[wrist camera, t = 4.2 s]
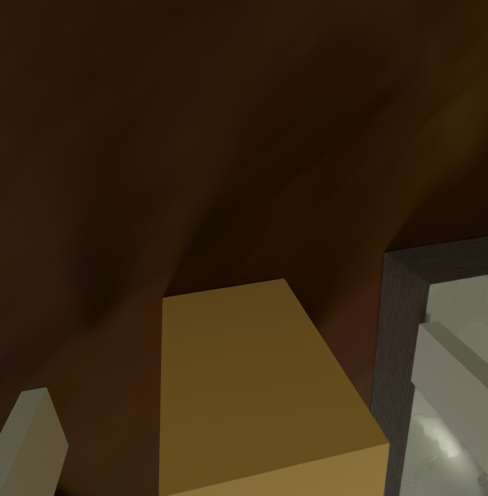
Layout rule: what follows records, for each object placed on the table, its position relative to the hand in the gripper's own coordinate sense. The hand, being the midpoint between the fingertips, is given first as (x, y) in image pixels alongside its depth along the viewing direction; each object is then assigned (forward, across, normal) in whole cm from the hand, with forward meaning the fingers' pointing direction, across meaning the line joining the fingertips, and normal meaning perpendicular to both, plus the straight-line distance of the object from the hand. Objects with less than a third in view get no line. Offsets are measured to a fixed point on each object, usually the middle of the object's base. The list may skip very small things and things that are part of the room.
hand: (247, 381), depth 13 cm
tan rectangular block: (+3, 0, 0) cm, 3 cm away
